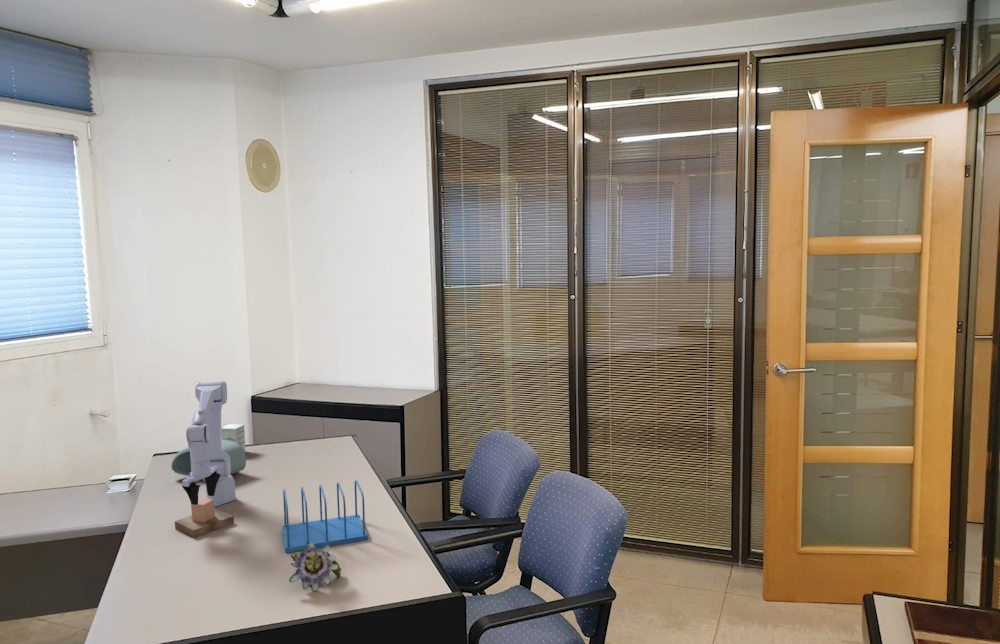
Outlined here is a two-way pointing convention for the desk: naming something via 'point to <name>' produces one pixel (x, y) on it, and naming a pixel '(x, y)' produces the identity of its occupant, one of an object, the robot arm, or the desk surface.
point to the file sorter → (324, 526)
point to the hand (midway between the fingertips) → (203, 499)
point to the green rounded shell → (233, 449)
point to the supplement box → (234, 434)
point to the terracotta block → (203, 510)
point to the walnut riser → (204, 524)
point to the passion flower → (314, 567)
